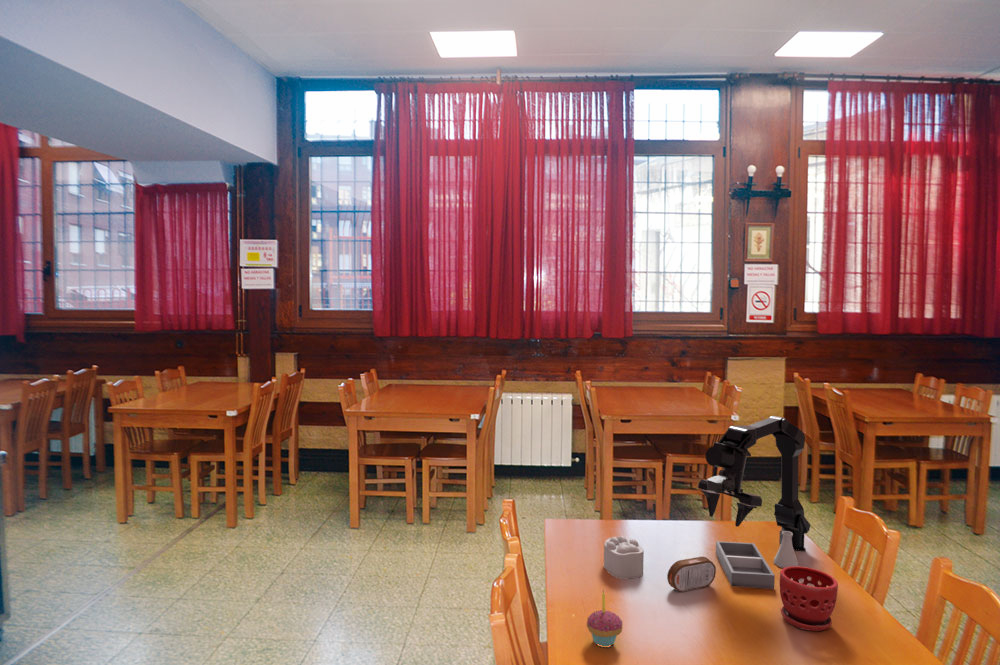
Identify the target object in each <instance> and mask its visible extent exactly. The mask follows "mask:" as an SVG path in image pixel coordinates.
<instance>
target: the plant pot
mask: <svg viewBox="0 0 1000 665" xmlns="http://www.w3.org/2000/svg"><path fill="white" fill-rule="evenodd" d="M808 578H810V579H808ZM800 580H803V582H800ZM819 583H820V584H819ZM809 584H810V585H813V586H810V585H809ZM838 588H839V583H838V581H837V580H836V578H834V577H833V576H832V575H830V574H829V573H826V572H824V571H821V570H819V569H816V568H812V567H806V566H790V567H785V568H782V569H781V570H780V574H779V594H780V599H781V602H782V606H781V608H780V613H781V616H782V617H783V619H784V620H786V622H787V623H789V624H791V625H792V626H794V627H797V629H801V630H805V631H812V632H818V631H824V630H827V629H829V628H830V627H831V625H832V623H833V621H832V617H831V615H833V612H834V609H835V607H836V603H837V599H838V598H837V596H838Z"/></svg>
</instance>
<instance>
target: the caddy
mask: <svg viewBox="0 0 1000 665" xmlns="http://www.w3.org/2000/svg"><path fill="white" fill-rule="evenodd" d="M715 555H716V557H717V559H718V561H719V564H720V565H721V567H722V569H723V572H724V574H725V576H726V578H727V580H728V582H729V584H730V586H731V587H737V588H752V589H766V590H767V589H769V590H775V580H776V578H775V577H776V576H775V573H774V572H773V570H772V569H771V566H769V564H768V562H767V561H766V559H765V558H764V556H763V555H762V553H761V552H760V550H759V549H758V547H757V545H756V544H755V543H754V542H740V541H739V542H738V541H722V540H721V541H720V540H716V541H715Z"/></svg>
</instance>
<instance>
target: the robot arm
mask: <svg viewBox="0 0 1000 665" xmlns="http://www.w3.org/2000/svg"><path fill="white" fill-rule="evenodd" d="M770 435H772V436H773V437H774V439H775V447H776V448H777V449H778V452H779V454H780V455H781V467H780V468H781V471H780V472H781V474H780V475H781V481H780V482H781V486H780V487H781V488H780V489H781V493H780V494H781V496H780V499H779V501H778V502H777V503H775V504H774V505H773V506H774V513H773V516H775V517H774V518H775V522H776V526H778V527H780V528H781V530H779V537H778V538H779V540H778V541H779V544H780V545H781V542H782V538H783V535H782V531H789V532H792V533H793V536H792V546H793V549H794V551H796V552H798V551H800V552H806V550H807V549H806V547H805V534H808V532H809V531H810V528H811V523H810V522H809V521H808V519H807V518H806V517H805V511H804V510H805V509H804V506H803V505H802V503H801V501H800V500H799V455H800V454H801V453H802V452H803V451H804V449H805V443H806V435H805V432H803V430H801V429H800V428H799V427H797V426H796V425H794V424H793V423H791V422H790V421H789V420H788V419H787V418H785V417H783V416H778V415H777V416H776V415H772V416H771V415H770V416H769V417H768V418H765V419H763V420H760V421H757V422H754V423H751V424H748V425H731V426H729V427H728V428H727V430H726V431H725V432H724V434H723V435H722V437H721V438H720V439H719V440H718V442H715V441H714V442H713V444H712V445H713V446H710V447H709V448H708V449H707V451H706V452H705V460H706V462H707V464H708V465H710V466H712V467H718V468H723V469H720V470H719V471H718V475H714V476H711V477H709V478H708V477H707V479H700V481H699V482H698V484H697V489H700V492H701V493H703V495H704V497H705V498H706V504H707V508H708V515H709V517H711V518H713V517H714V515H715V512H716V510H717V505H718V503H719V499H720V496H721V494H724V495H726V496H729V497H732V498H735V499H738V501H739V502H736V505H737V513H736V517H735V524H734V525H735V527H736V528H737V527H740V525H741V524H742V522H743V521H744V520H745V518H747V516H748V515H749V514H750V512H752V510H754V509H757V508H758V507H760V508H761V507H762V504H763V499H762V496H760V495H757V494H754V493H750V492H744V488H742V484H743V480H745V479H746V477H747V475H745V474H744V473H745V472H744V471H745V466H746V461H747V457H748V458H749V457H752V453H751V452H750V451H749V449H750V448H752V447H754V446H755V445H756V444H757V441H758V440H759V439H763V438H764V437H767V436H770Z"/></svg>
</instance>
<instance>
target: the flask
mask: <svg viewBox="0 0 1000 665" xmlns="http://www.w3.org/2000/svg"><path fill="white" fill-rule="evenodd" d="M782 535H783V538H782V542H781V544H780V545H779V548H778V551H777V552H776V555H775V556H774V559H773V564H774V565H776V566H778V568H782V569H783V568H785V567H790V566H799V561H798V559H797V556H796V553H795V550H794V549H793V546H792V536H793V533H792V532H789V531H782Z"/></svg>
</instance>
